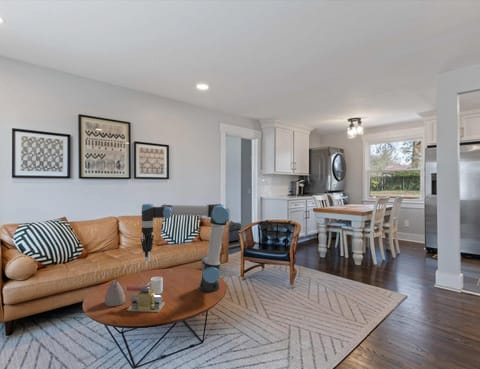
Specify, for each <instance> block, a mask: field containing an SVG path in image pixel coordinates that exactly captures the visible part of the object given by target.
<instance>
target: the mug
mask: <svg viewBox="0 0 480 369" xmlns="http://www.w3.org/2000/svg"><path fill="white" fill-rule="evenodd" d="M163 283H164V281H163V277H162V276H154V277H151V278H150V281H149V282H147V284H146V285H145V286H150V289H155V294H156V295H162V294H163V286H164V285H163Z"/></svg>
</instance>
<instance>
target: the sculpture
mask: <svg viewBox="0 0 480 369" xmlns="http://www.w3.org/2000/svg"><path fill="white" fill-rule="evenodd" d="M124 292H125V291H124V290H123V288H122V286H121V284H120V283H119V281H115V280H114V279H113V280H112V281H111V283H110V284H109V286H108V288H107V291H106V292H105V293H106V294H105V297H104V303H105V305H106V307H111V308H113V307H119V306H122V305H124V304H125V301H126V295H125V293H124Z"/></svg>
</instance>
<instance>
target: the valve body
mask: <svg viewBox="0 0 480 369" xmlns="http://www.w3.org/2000/svg"><path fill="white" fill-rule="evenodd" d="M130 302H131V305H130V306H128V308H127V309H126V310H127V312H144V313H145V312H147V313H159V312H160V311H161V309H162V308H163V306H164V305H165V304H166V302H165V301H163V295H162V294H158V295H156V294H155V289H151V288H150V292H146V293H145V292H141V291H139V292H138V293H137V294H132V295H131V296H130Z"/></svg>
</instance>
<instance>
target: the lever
mask: <svg viewBox="0 0 480 369" xmlns="http://www.w3.org/2000/svg"><path fill="white" fill-rule="evenodd" d="M150 289H151V285H148V286H146V285H145V286H140V285H139V286H138V285H127V287H126V292H138V293H140V292H145V293H146V292H150Z"/></svg>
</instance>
